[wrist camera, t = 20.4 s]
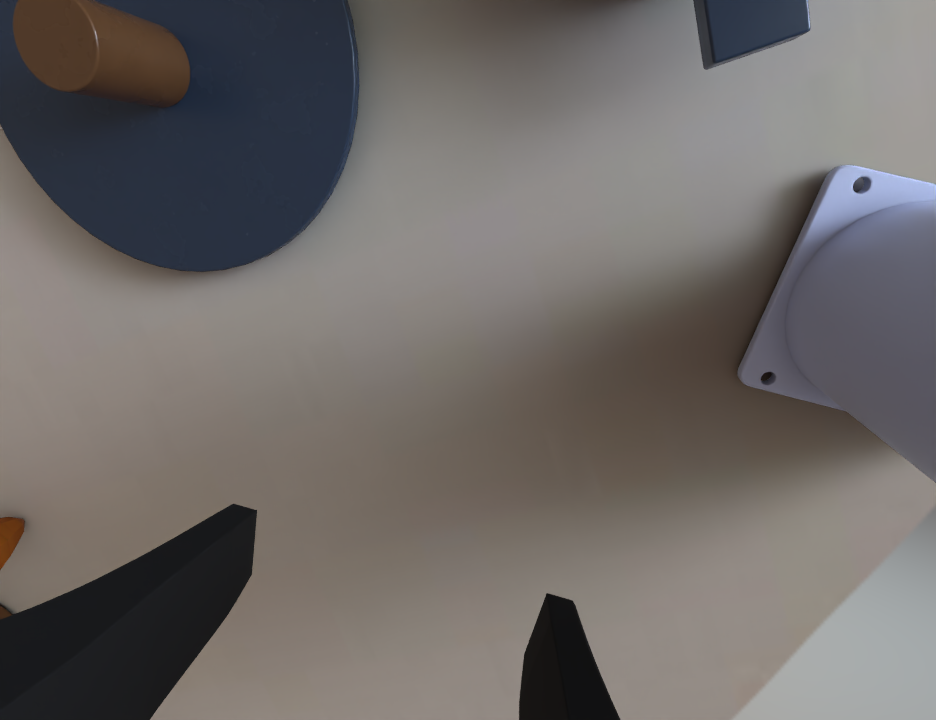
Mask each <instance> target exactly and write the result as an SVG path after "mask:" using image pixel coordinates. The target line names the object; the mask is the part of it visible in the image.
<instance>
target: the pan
mask: <svg viewBox="0 0 936 720" xmlns="http://www.w3.org/2000/svg"><path fill="white" fill-rule="evenodd" d="M693 1H694V7H695V14H696V21H697V27H698V34H699V40H700V47H701V54H702V60H703V67H704V69H706V70H707V69H710V68H713V67H716V66H719V65H722V64H725V63H728V62H730V61H733V60H736V59H739V58H742V57H745V56H748V55H751V54H754V53H756V52H759V51H762V50H765V49H768V48H771V47H774V46H777V45H780V44H782V43H785V42H788V41H791V40H794V39H796V38H797V37H799V36H801V35H803V34H805V33H807V32H808V31H809V30H810V16H809V5H808V0H693Z"/></svg>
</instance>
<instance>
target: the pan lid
mask: <svg viewBox="0 0 936 720" xmlns="http://www.w3.org/2000/svg"><path fill="white" fill-rule="evenodd" d="M358 97H359V67H358V51H357V44H356V38H355V31H354V25H353V20H352V16H351V12H350V8H349V5H348V1H347V0H0V124H1V126H2V128H3V130H4V133H5V135H6V136H7V138H8V140H9V141H10V143H11V145H12V146H13V148H14V150H15V152H16V153H17V155H18V157H19V158H20V160H21V161H22V163H23V164H24V165H25V167H26V168H27V170H28V171H29V172H30V174H31V175H32V176H33V178H34V179H35V181H36V182H37V183H38V184H39V185H40V187H41V188H42V189H43V190H44V191H45V192H46V193H47V195H48V196H49V197H50V198H51V199H52V200H53V201H54V203H55V204H57V205H58V206H59V207H60V208H61V209H62V210H63V211H64V212H65V213H66V214H67V215H68V216H69V217H70V218H71V219H73V220H74V221H75V222H76V223H77V224H79V225H80V226H81V227H83V228H84V229H85V230H87V231H88V232H89V233H90V234H92V235H93V236H94V237H96V238H98V239H99V240H101V241H103V242H104V243H106V244H108V245H109V246H111V247H112V248H114V249H116V250H118V251H120V252H122V253H124V254H127V255H129V256H131V257H133V258H135V259H138V260H141V261H144V262H147V263H150V264H153V265H156V266H159V267H164V268H170V269H175V270H180V271H196V272H206V271H217V270H226V269H230V268H234V267H238V266H242V265H246V264H249V263H251V262H254V261H256V260H259V259H261V258H264V257H266V256H268V255H270V254H272V253H274V252H275V251H277V250H278V249H280V248H282V247H283V246H285V245H287V244H288V243H289V242H290V241H292V240H293V239H294V238H295V237H296V236H297V235H299V234H300V233H301V232H302V231H303V230H305V228H306V227H307V226H308V225H309V224H310V223H311V222H312V220H313V219H314V218H315V217H316V216H317V215H318V214H319V212H320V211H321V209H322V208H323V206H324V205H325V203H326V202H327V200H328V199H329V197H330V196H331V194H332V192H333V191H334V188H335V186H336V184H337V182H338V180H339V178H340V176H341V173H342V171H343V169H344V166H345V163H346V160H347V157H348V154H349V151H350V148H351V144H352V140H353V135H354V129H355V124H356V119H357V111H358Z"/></svg>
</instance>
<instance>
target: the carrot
mask: <svg viewBox="0 0 936 720" xmlns="http://www.w3.org/2000/svg"><path fill="white" fill-rule="evenodd" d="M23 532H24V520H23V519H21V518H13V517H5V518H0V570H1V568H2V567H3V566H4V564H5V563H6V561H7V560H8V559H9V557H10V556H11V554H12V553H13V551H14V549H15V547H16V545H17V543H18V542H19V540H20V538H21V536H22V534H23Z"/></svg>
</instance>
